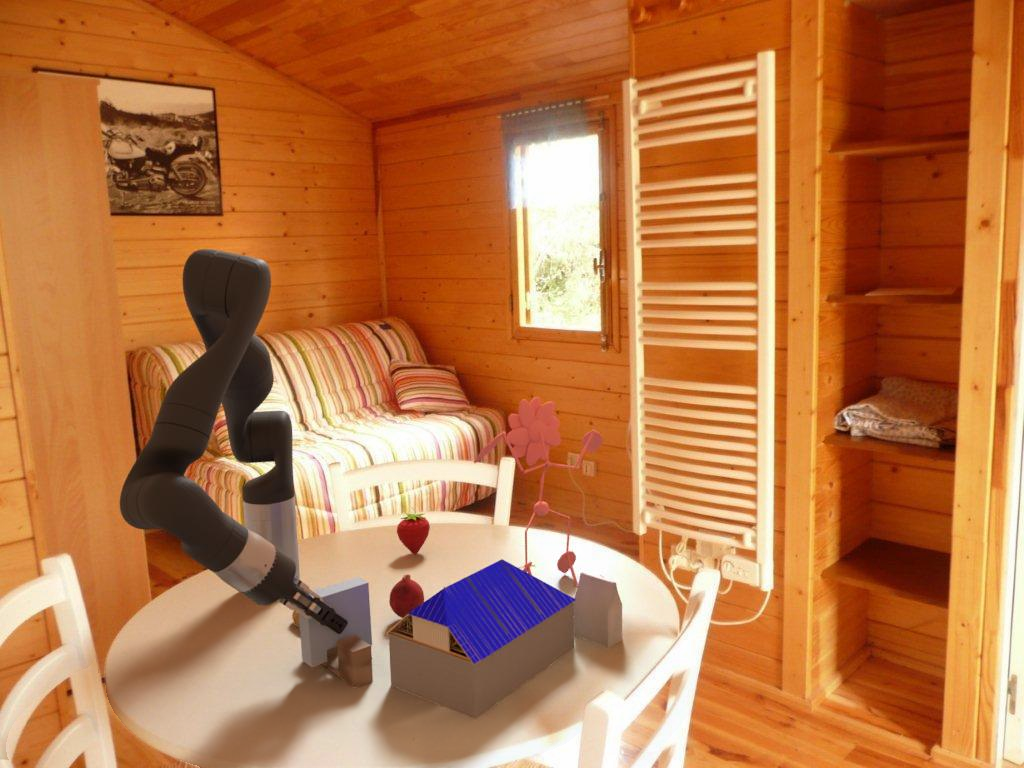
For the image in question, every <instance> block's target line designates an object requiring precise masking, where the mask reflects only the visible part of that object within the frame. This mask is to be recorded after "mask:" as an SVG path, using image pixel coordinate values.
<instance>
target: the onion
mask: <svg viewBox="0 0 1024 768" xmlns="http://www.w3.org/2000/svg"><path fill="white" fill-rule="evenodd" d="M424 602H425V594H424V590H423V587H422V586H421V585H420V584H419V583H418V582H417V581H415V580H413V579H411V574H409V573H405V574H404V575H403V576H402V578H401V580H400V581H398V582H397V583H396V584H394V586H393V587H392V588H391V590H390V593H389V606H390V609H391V610H392V612H394V614H395V615H397V617H399V618H401V619H403V618H404V617H405V616H406V615H407V614H408V613H410V612H411V611H412V610H414V609H415V608H417V607H418V606H419V605H421V604H422V603H424Z"/></svg>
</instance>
